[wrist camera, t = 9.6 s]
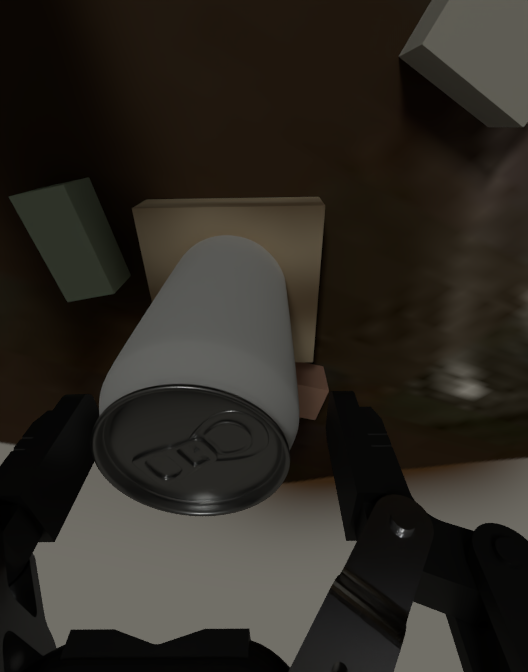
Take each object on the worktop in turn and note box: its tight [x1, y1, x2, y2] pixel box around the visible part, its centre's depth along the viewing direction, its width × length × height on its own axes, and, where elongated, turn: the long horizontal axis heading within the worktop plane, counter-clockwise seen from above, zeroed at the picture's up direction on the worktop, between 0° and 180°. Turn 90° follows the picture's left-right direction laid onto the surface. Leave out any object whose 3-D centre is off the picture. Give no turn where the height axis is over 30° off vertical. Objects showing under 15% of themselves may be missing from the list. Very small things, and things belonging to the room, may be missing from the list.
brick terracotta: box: [295, 362, 329, 420], centre depth 25 cm, size 6×3×3 cm, turn 76°
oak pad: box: [132, 197, 325, 362], centre depth 21 cm, size 10×10×2 cm
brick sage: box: [9, 177, 131, 302], centre depth 19 cm, size 6×3×3 cm, turn 11°
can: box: [91, 235, 299, 516], centre depth 15 cm, size 6×6×12 cm
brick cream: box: [399, 0, 528, 127], centre depth 15 cm, size 6×3×3 cm
